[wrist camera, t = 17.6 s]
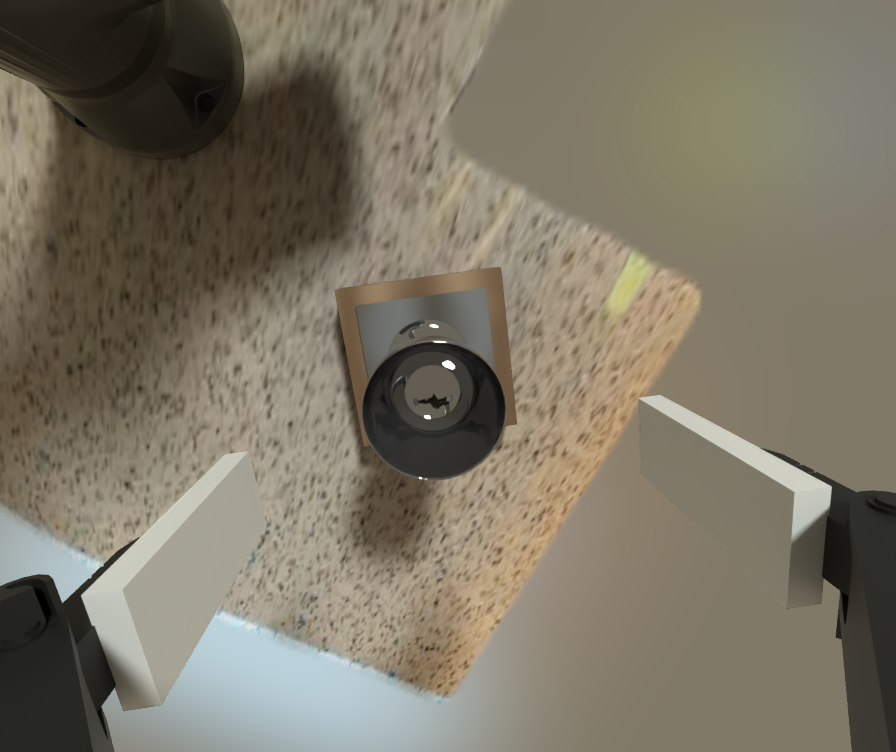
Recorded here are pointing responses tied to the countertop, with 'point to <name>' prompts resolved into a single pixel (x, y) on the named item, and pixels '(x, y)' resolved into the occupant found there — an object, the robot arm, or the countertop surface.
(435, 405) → the wine glass
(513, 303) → the countertop surface
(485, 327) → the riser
